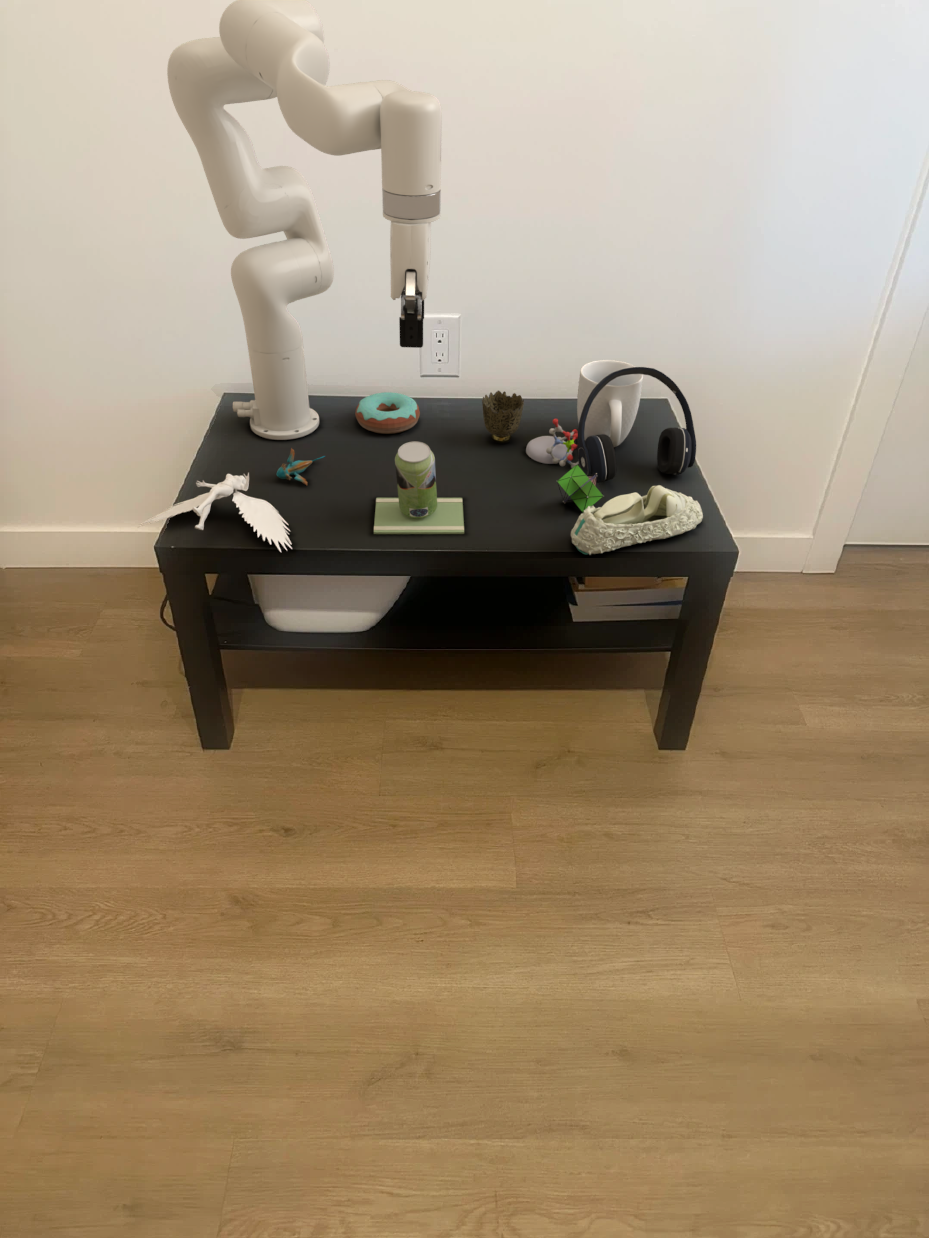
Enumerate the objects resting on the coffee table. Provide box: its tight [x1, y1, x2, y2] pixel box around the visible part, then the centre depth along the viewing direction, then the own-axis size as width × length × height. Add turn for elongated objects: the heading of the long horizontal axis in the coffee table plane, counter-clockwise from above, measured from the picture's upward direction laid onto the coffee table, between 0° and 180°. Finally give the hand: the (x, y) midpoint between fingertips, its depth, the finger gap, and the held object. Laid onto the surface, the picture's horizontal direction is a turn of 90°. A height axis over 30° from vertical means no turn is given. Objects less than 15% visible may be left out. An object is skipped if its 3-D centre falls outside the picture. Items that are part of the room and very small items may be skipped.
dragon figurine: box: [276, 447, 326, 486], centre depth 147 cm, size 6×7×8 cm
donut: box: [355, 391, 421, 435], centre depth 161 cm, size 12×12×4 cm
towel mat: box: [373, 497, 465, 535], centre depth 138 cm, size 14×10×1 cm
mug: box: [576, 359, 644, 448], centre depth 153 cm, size 15×11×13 cm
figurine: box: [137, 472, 293, 553], centre depth 132 cm, size 12×25×14 cm
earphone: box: [576, 366, 697, 484], centre depth 146 cm, size 20×7×18 cm
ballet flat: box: [570, 484, 704, 556], centre depth 133 cm, size 9×24×8 cm, turn 120°
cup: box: [481, 390, 525, 445], centre depth 155 cm, size 8×7×8 cm
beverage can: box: [394, 440, 438, 518], centre depth 134 cm, size 6×7×12 cm
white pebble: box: [525, 435, 571, 465], centre depth 154 cm, size 8×8×2 cm
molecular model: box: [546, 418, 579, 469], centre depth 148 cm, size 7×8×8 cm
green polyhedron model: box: [556, 464, 605, 514], centre depth 139 cm, size 7×7×8 cm
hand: (412, 332), depth 123 cm, fingers open, 9 cm apart
